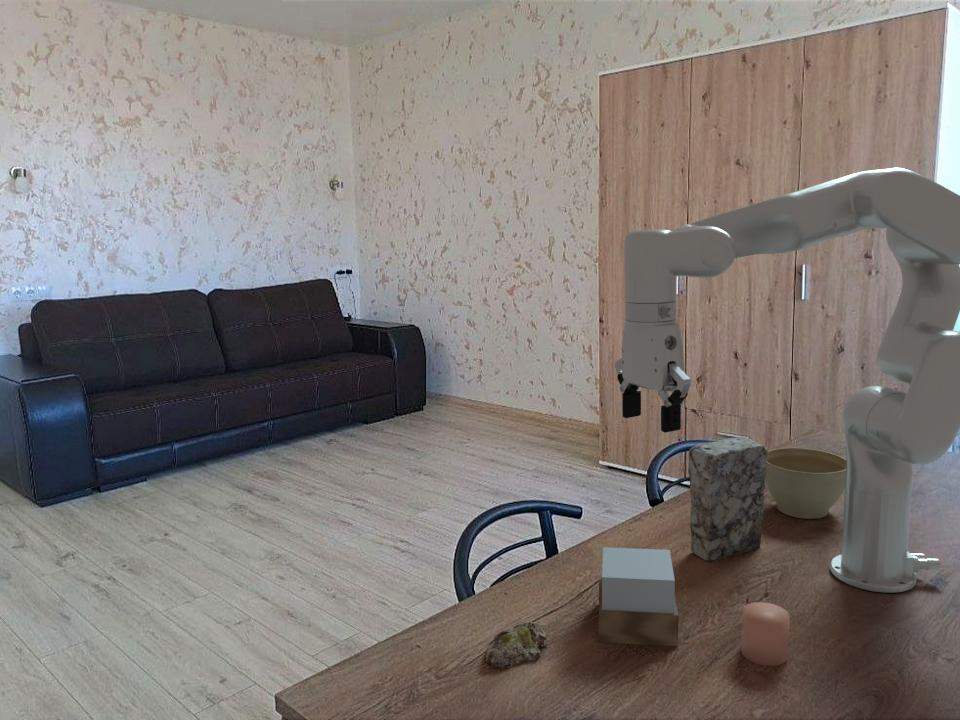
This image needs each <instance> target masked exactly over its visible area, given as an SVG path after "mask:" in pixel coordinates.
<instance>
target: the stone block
mask: <svg viewBox="0 0 960 720" xmlns="http://www.w3.org/2000/svg"><path fill="white" fill-rule="evenodd" d="M768 451H769V449H768V448H767V447H766V446H765V445H763V444H761V443H759V442H757V441H755V440H753V439H751V438H748V437H747V436H738V437H737V436H736V437H730V438H724V439H719V440H714V441H710V442H705V443H700V444H697V445H694V446H693V447H691V448H690V449H689V450H688V463H687V464H688V469H687V470H688V471H687V472H688V475H689V492H690V493H689V494H690V504H691V508H690V515H689V516H690V517H689V519H690V525H689V529H690V550H691V552H692V553H693V554H695V556H697V557H699V558H701V559H703V560H704V561H706V562H710V563H714V562H717V561H720V560H724V559H727V558H728V559H729V558H731V557H735V556H737V555H740V554H744V553H746V552H749V551H753V550H756V549H760V547H761V540H762V533H763V520H764V509H765V508H764V507H765V504H764V502H765V489H766V482H765V476H766V466H765V465H766V459H767V454H768Z"/></svg>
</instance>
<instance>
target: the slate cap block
mask: <svg viewBox="0 0 960 720" xmlns="http://www.w3.org/2000/svg"><path fill="white" fill-rule="evenodd" d="M601 562H602V565H601V566H602V567H601V576H602V610H615V611H633V612H651V613H669V614H674V603H675V600H676V596H675V591H676V590H675V588H676V587H675V586H676V585H675V584H676V582H675V581H676V580H675V574H674V568H673V567H674V566H673V563H672V562H673V561H672V555H671V550H670V549H656V548H655V549H654V548H633V547H632V548H628V547H610V546H609V547H607V546H605V547H604V546H603V548H602V561H601Z"/></svg>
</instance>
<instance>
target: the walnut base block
mask: <svg viewBox="0 0 960 720" xmlns="http://www.w3.org/2000/svg"><path fill="white" fill-rule="evenodd" d="M678 611H679V610H678V605H677V601H676V599H675V603H674V614H669V613H651V612H633V611H615V610H602V575H599V576H598V643H607V644H627V645H643V646H659V647H660V646H662V647H663V646H665V647H679V618H680V617H679V616H680V615H679V612H678Z"/></svg>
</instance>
